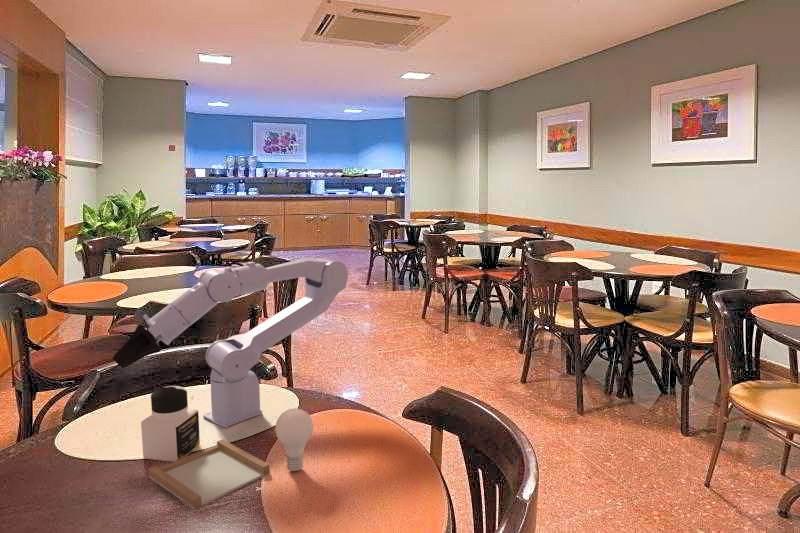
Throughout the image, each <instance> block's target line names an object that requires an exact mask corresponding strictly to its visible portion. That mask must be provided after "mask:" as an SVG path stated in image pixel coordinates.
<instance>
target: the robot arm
mask: <svg viewBox="0 0 800 533" xmlns="http://www.w3.org/2000/svg"><path fill="white" fill-rule="evenodd" d="M348 277H349V270H348V267H347V266H346V264H345V263H343V262H341V261H339V260H333V259H328V258H324V257H321V256H313V257H303V258H300V259H296V260H292V261H287V262H283V263H281V264H275V265H272V266H269V267H265V266H264V265H262V264H261V263H256V262H254V261H248V262H246V265H244V266H239V267H231V266H227V267H224V270H223V271H220V270H217V269H214V270H213V269H212V270H208V271H207V272H205V271H204V272H202V273H201V274H200V275H199V277H198V279H197V283H195V284H194V285H193V286H192V287H190V288H189V289H188V290H186V291H185V292H184V293H182V294H181V295H179V296H177V298H176V299H174V300H173V301H172V302H170V303H169V304H167V306H165V307H164V308H162V309H160V311H159V312H157V313H156V314H154V315H153V316H152V317H151V318H150V316H148V315H147V314H144V315H142V318H143V319H144V320H145V322H146V324H147V325H148V326H149V327H148V328H147V329H146V328H145V327H144V326H143V325H142V324H141V323H139V324H137V325H136V327H135V330H134V331H133V333H132V334H131V336H130V337H129V339H128V340H127V341H126V342H125V343H124V344H123V346H121V348H119V349H118V350H117V352H115V354H114V355H113V357H112V360H113V361H114V362H115V363H116V364H117V365H118V366H119V368H121V369H125V368H127V367H129V366H131V365H132V364H134V363H136V362H137V361H140V360H141V359H143V358H145V357H147V356H150V355H153V354H157V353H159V352H161V348H160V346H159V345H158V342H162V343H164V344H165V345H167V346H168V345H170V344H171V343H172V341H173V340H174V339H176V338H177V337H178V336H179V335H181V334H182V333H183V332H184V331H185V330H187V329H188V328H189V327H190V326H192V325H193V324H195V323H196V322H197V321H199V319H201V318H202V317H204V316H205V315H206V314H207V313H208V312H210V311H211V310H212V309H213V308H214V307H215V306H217V305H218V304H219V303H229V302H231V301H232V300H233V299H234V298H235V297H238V296H243V295H247V294H252V293H256V292H260V291H264V290H266V288H267V287H268V286H269V284H270V283H275V282H283V281H287V280H293V279H301V278H304V283H305V284H304V287H305V293H304V296H303V297H302V298H300V299H299V300H297V301H295V302H293V303H292V304H290V305H289V306H287V307H286V308H284V309H282V310H281V311H279V312H277V313H276V314H274V315H272V316H271V317H269V318H267V320H264V321H263V322H261V323H260V324H258V325H256V326H255V327H253V328H252V329H250V330H248V331H247V332H245V333H240V334H236V335H235V334H233V335H231V336H229V337H228V338H226V339H220V340H216V341H214V342H212V343H211V344H210V345H209V346H208V348H206V349H207V350H206V352H205V360H206V364H207V365H208V366H209V367H210V368H211V372H210V374H209V376H210V378H209V379H210V381H209V382H210V400H211V401H210V402H211V404H210V405H211V411H210V412H207V413H205V414H203V415H202V416H203V417H202V418H205V419H207V420H209V421H210V422H212V423H214V424H216V425H218V426H220V427H222V428H228V427H231V426H232V425H235V424H237V423H241V422H243V421H246V420H248V419H252V418H254V417H257V416H259V415H262V414H263V410H261V396H260V394H261V392H260V388H261V387H260V381H259V379H258V376H257V374H256V373H255V372H254V371H252V370H251V369H252V368H253V367H254V366H255V365H257V364H258V363H259V361H260V356H261V354H262V353H263V352H265V351H266V350H268V349H270V348H272V346H274V345H276V344H277V343H279V342H281V341H282V340H284V339H286V337H288V336H290V335H291V334H293V333H294V332H296V331H297V330H298V329H301V328H302V327H304V326H305V325H307V324H308V323H310V322H311V321H313V320H314V319H317V317H319V316H321V315H322V314H324V313H325V312H326V311H327V310H328V308H330V306H331V305H332V303H333V301H334V300H335V298H336V297H337V295H338V294H339V293H340V292H341V291H343V290H345V289H346V288H347V283H348Z"/></svg>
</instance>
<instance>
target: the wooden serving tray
mask: <svg viewBox="0 0 800 533" xmlns="http://www.w3.org/2000/svg"><path fill="white" fill-rule="evenodd" d="M270 471H271V470H270V464H269V463H268V462H265V461H264V460H262V459H260V458H258V457H256V456H254V455H253V454H251V453H249V452H247V451H245V450H243V449H242V448H240V447H237V446H236V445H235V444H232V443H230V442H228V441H227V440H225V439H220V440H217V441H216V445H213V446H212V445H211V446H210V447H208V448H205V449H203V450H200V451H197V452H195V453H193V454H190V455H187V456H186V457H184V458H182V459H180V460H177V461H175V462H170V463H167V464H166V465H162V466H161V467H159V466H157V465H155V466H152V467H150V468H148V478H149V479H151V480H152V481H154V482H155V483H156V484H158V485H159V486H161V487H162V488H164V490H166V491H167V492H169V493H171V495H173V496H175V498H177V499H178V500H180V501H181V502H183V503H184V504H186V505H187V506H188V507H190V508H191V509H193V510H197V509H199V508H200V507H202V506H205V505H207V504H209V503H211V502H214V501H215V500H218V499H219V498H221V497H223V496H225V495H228V494H230V493H232V492H234V491H237V490H239V489H240V488H242V487H244V486H247V485H248V484H250V483H253V482H254V481H257V480H259V479H260V478H263V477H265V476H267V475H268V474H270V473H271V472H270Z"/></svg>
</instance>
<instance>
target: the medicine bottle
mask: <svg viewBox="0 0 800 533" xmlns="http://www.w3.org/2000/svg"><path fill="white" fill-rule="evenodd" d="M187 390H188V389H186V388H185V387H183V386H178V385H166V386H163V387H159V388H158V389H155V390H154V391H153V392H152V393H151V395H150V406H151V414H150V415H149V416H147V417H146V418H145V419H143V420H142V421H141V422H140V426H141V427H140V429H141V442H142V457H143V459H147V460H153V461H163V462H170V463H172V462H175V461H177V460H180V459H182V458H185V457H187V456H189V454H191V452H193V451H194V450H196V448H197V447H198V446H200V445H201V444H200V442H201V440H200V422H199V421H200V418H199V417H200V416H199V410H198V409H195V408H189V406H188V404H189V403H188V391H187Z"/></svg>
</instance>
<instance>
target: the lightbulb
mask: <svg viewBox="0 0 800 533" xmlns="http://www.w3.org/2000/svg"><path fill="white" fill-rule="evenodd" d="M313 422H314V421H313V420H312V417H311V415H310V414H309V413H308V412H307V411H305V410H303V409H300V408H296V407H295V408H288V409H287V410H285V411H283V412H282V413H280V415H279V416H278V418H277V420H276V423H275V425H274V429H275V431H274V432H275V436H276V437H277V439H278V441H279V443H280V444H281V445H282V446H283V448H284V449H283V450H284V453H285V454H286V463H287V464H286V465H287V466H286V468H287V470H288V471H290V472H291V471H292V472H298V471H300V470H302V469H303V467H304V463H303V462H304V461H303V458H304V456H303V455H304V453H305V449H306V448H305V447H306V445H307V443H308V442H309V440H310V438H311V437H312V435H313V432H314V423H313Z"/></svg>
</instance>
